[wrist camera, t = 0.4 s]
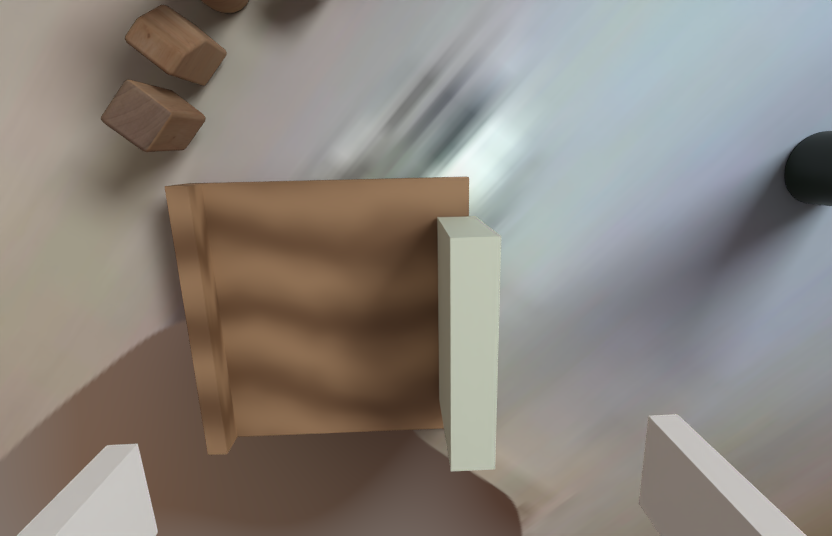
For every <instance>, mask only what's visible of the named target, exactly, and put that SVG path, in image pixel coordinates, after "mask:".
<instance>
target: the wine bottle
mask: <svg viewBox="0 0 832 536" xmlns="http://www.w3.org/2000/svg"><path fill="white" fill-rule="evenodd" d="M785 183H786V186H787V189H788V191H789V192H790V193H791V195H792V196H793V197H794V198H796V199H797V200H799V201H801V202H804V203H810V204H818V205H827V206H832V131H825V132H819V133H816V134H813V135H811V136H809V137H808V138H806V139H805V140H803V141H802V142H801V143H800V144H799V145H798V146H797V147H796V148H795V149H794V150H793V152H792V153H791V155H790V157H789V159H788V161H787V164H786V168H785Z"/></svg>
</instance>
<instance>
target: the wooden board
mask: <svg viewBox="0 0 832 536" xmlns="http://www.w3.org/2000/svg"><path fill="white" fill-rule="evenodd" d="M165 192H166V198H167V205H168V211H169V217H170V223H171V229H172V236H173V242H174V248H175V254H176V260H177V266H178V273H179V279H180V285H181V291H182V297H183V304H184V310H185V316H186V322H187V328H188V335H189V341H190V346H191V353H192V359H193V365H194V371H195V378H196V384H197V390H198V396H199V402H200V409H201V414H202V421H203V427H204V433H205V440H206V446H207V452H208V455H214V454H228V452H229V450H230V449H231V447H232V445H233V443H234V442H235V440H236V438H237V437H246V436H271V435H294V434H318V433H342V432H365V431H390V430H414V429H438V428H444V426H443V420H442V414H441V407H440V401H439V328H438V229H437V217H466V216H469V177H434V178H392V179H351V180H310V181H269V182H228V183H188V184H180V185H172V186H165Z"/></svg>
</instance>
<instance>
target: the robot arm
mask: <svg viewBox="0 0 832 536" xmlns="http://www.w3.org/2000/svg"><path fill="white" fill-rule="evenodd" d="M639 505H640V506H641V508H642V509H643V511H644V512H645V513H646V515H647V516H648V518H649V519H650V521H651V522H652V524H653V525H654V527H655V528H656V530H657V531H658V532H659V534H660V535H661V536H806V535H805V534H804V533H803V532H802V531H801V530H800V529H799V528H798V527H797V526H796V525H795V524H793V523H792V522H791V521H790V520H789V519H788V518H787V517H786V516H785V515H784V514H783V513H782V512H781V511H780V510H779V509H778V508H776V507H775V506H774V505H773V504H772V503H771V502H770V501H769V500H768V499H767V498H766V497H765V496H764V495H763V494H762V493H761V492H759V491H758V490H757V489H756V488H755V487H754V486H753V485H752V484H751V483H750V482H749V481H748V480H747V479H746V478H745V477H744V476H742V475H741V474H740V473H739V472H738V471H737V470H736V469H735V468H734V467H733V466H732V465H731V464H730V463H729V462H728V461H727V460H725V459H724V458H723V457H722V456H721V455H720V454H719V453H718V452H717V451H716V450H715V449H714V448H713V447H712V446H711V445H710V444H708V443H707V442H706V441H705V440H704V439H703V438H702V437H701V436H700V435H699V434H698V433H697V432H696V431H695V430H694V429H693V428H691V427H690V426H689V425H688V424H687V423H686V422H685V421H684V420H683V419H682V418H681V417H680V416H679V415H678V414H674V415H655V416H648V425H647V434H646V443H645V452H644V461H643V470H642V479H641V488H640V496H639ZM157 533H158V530H157V526H156V522H155V517H154V513H153V508H152V504H151V500H150V496H149V491H148V487H147V482H146V478H145V474H144V469H143V465H142V461H141V456H140V452H139V448H138V444H124V445H107V446H106V447H105V448H104V449H103V450H102V451H101V452H100V453H99V454H98V455H97V456H96V457H95V458H94V459H93V460H92V461H91V462H90V463H89V464H88V465H87V466H86V467H85V468H84V469H83V470H82V471H81V472H80V473H79V474H78V475H77V476H76V477H75V478H74V479H73V480H72V481H71V482H70V483H69V484H68V485H67V486H66V487H65V488H64V489H63V490H62V491H61V492H60V493H59V494H58V495H57V496H56V497H55V498H54V499H53V500H52V501H51V502H50V503H49V504H48V505H47V506H46V507H45V508H44V509H43V510H42V511H41V512H40V513H39V514H38V515H37V516H36V517H35V518H34V519H33V520H32V521H31V522H30V523H29V524H28V525H27V526H26V527H25V528H24V529H23V530H22V531H21V532H20V533H19V534H18V535H17V536H156V534H157Z"/></svg>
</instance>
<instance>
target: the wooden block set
mask: <svg viewBox="0 0 832 536" xmlns="http://www.w3.org/2000/svg"><path fill="white" fill-rule="evenodd" d="M201 1H202V2H203V3H205V4H206V5H207V6H209V7H211V8H212V9H214V10H216V11H219V12H223V13H234V12H237V11H239V10H241V9H242V8H243V7H244V6H245V5H247V3H248V1H249V0H201ZM125 40H126V42H127V43H128V44H129V45H131V46H132V47H133V48H134V49H136V50H137V51H138V52H140V53H141V54H142V55H143V56H145V57H146V58H147V59H149V60H150V61H151V62H152V63H154V64H155V65H156V66H158V67H159V68H160V69H162V70H163V71H164V72H165V73H167V74H169V75H172V76H175V77H178V78H181V79H184V80H187V81H190V82H193V83H196V84H199V85H202V86H204V85H206V84H207V82H208V81H209V80H210V78H211V77H212V75H213V74H214V72H215V71H216V69H217V68H218V67H219V65H220V64H221V62H222V61H223V59H224V58H225V56H226V54H227V52H226V50H225V49H224V48H222V47H221V46H220V45H219V44H217V43H216V42H215V41H214V40H213V39H211V38H210V37H209V36H208V35H207V34H205V33H204V32H203V31H202V30H200V29H199V28H198V27H197V26H196V25H194V24H193V23H192V22H190V21H189V20H187V19H186V18H184V17H183V16H181V15H180V14H178V13H177V12H175V11H174V10H172V9H171V8H170V7H168V6H166V5H160V6H158V7H157V8H155V9H153V10H151V11H149V12H148V13H146V14H144V15H142V16H140V17H139V18H137V19H136V21H135V22H134V24H133V25H132V27H131V28H130V30H129V31H128V33H127V34H126V36H125ZM101 120H102V121H103V122H104V123H105V124H106V125H107V126H109V127H110V128H112V129H113V130H114V131H116V132H117V133H119V134H120V135H121V136H123V137H124V138H126V139H127V140H128V141H130V142H131V143H133V144H134V145H135V146H137V147H138V148H140V149H141V150H142V151H145V152H154V151H172V150H184V149H185V148H186V147H187V146H188V144H189V143H190V142H191V140H192V139H193V137H194V136H195V135H196V133H197V132H198V130H199V129H200V127H201V126H202V125H203V123H204V122H205V116H204V115H203V114H202V113H201V112H199V111H198V110H197V109H195V108H194V107H193V106H192V105H190V104H189V103H188V102H186V101H185V100H184V99H182V98H181V97H180V96H179V95H177V94H176V93H175V92H173V91H172V90H168V89H164V88H160V87H156V86H153V85H149V84H145V83H141V82H137V81H133V80H129V79H128V80H126V81H124V83H123V84H122V86H121V87H120V89H119V90H118V92H117V94H116V95H115V97H114V98H113V100H112V101H111V103H110V104H109V106H108V107H107V109H106V110H105V112H104V113H103V115H102V116H101Z"/></svg>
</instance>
